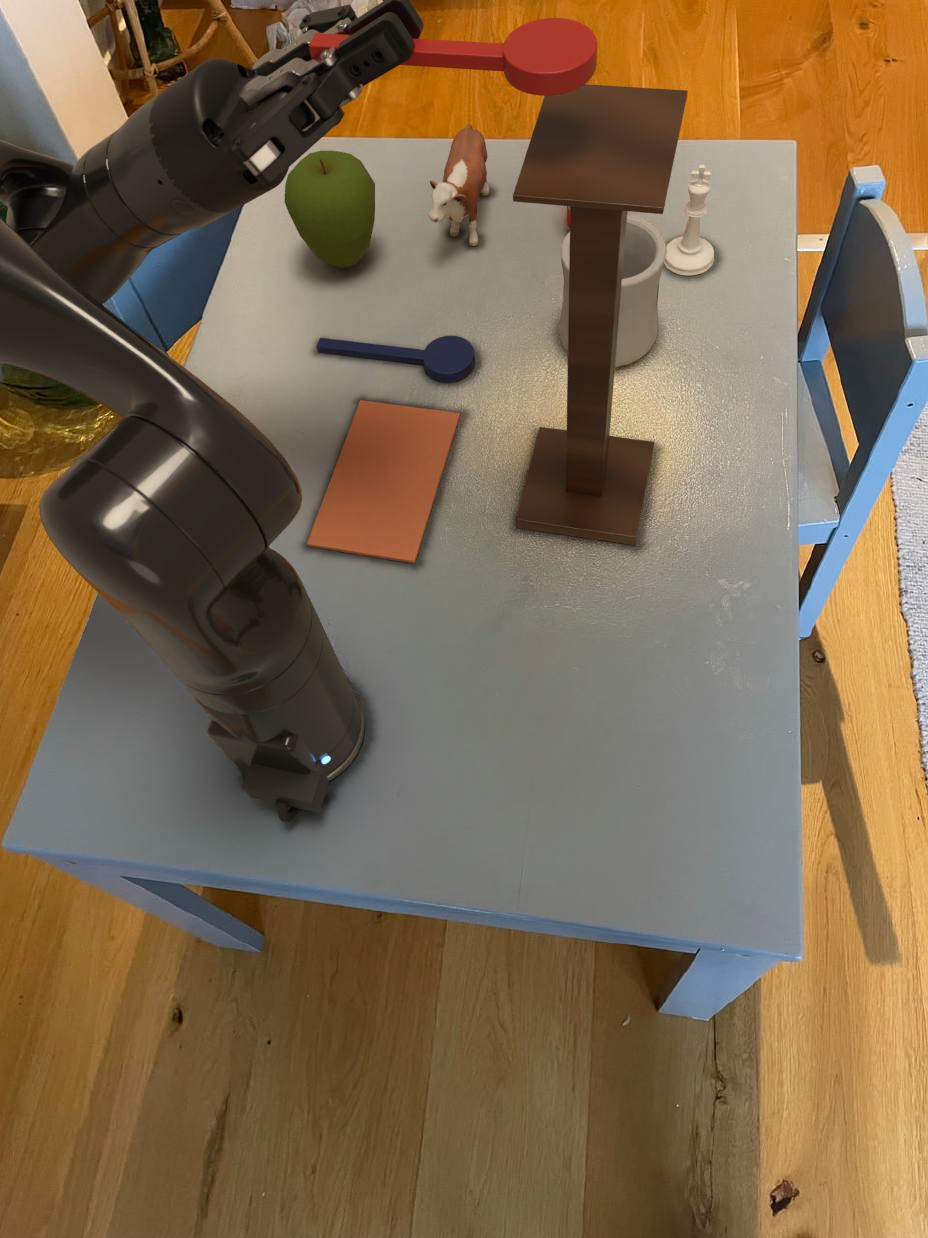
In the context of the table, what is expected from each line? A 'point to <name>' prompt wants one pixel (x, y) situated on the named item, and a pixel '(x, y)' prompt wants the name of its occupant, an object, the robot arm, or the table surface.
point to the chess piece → (692, 232)
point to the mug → (629, 290)
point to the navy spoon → (414, 355)
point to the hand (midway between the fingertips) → (408, 22)
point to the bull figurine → (462, 182)
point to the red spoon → (510, 55)
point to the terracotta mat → (385, 481)
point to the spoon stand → (595, 295)
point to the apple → (332, 206)
